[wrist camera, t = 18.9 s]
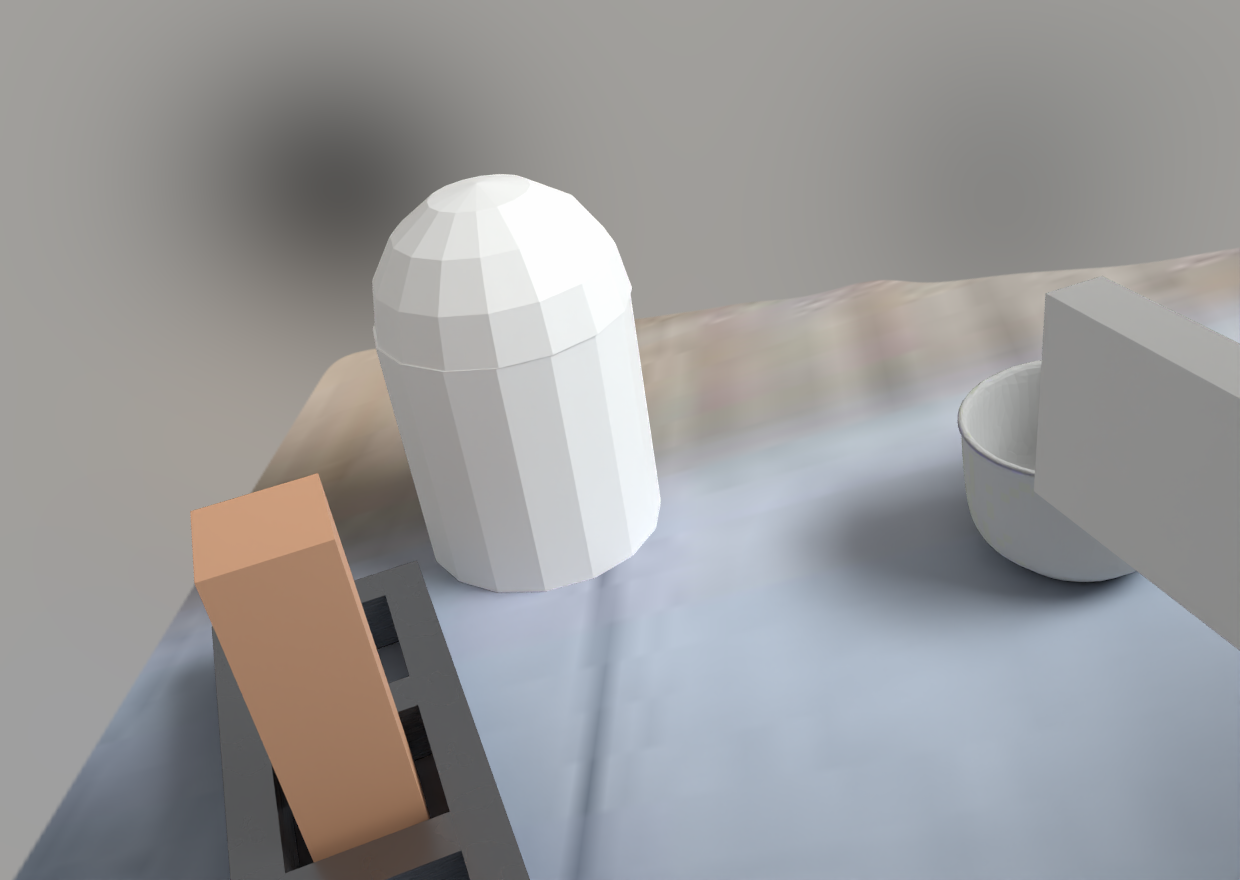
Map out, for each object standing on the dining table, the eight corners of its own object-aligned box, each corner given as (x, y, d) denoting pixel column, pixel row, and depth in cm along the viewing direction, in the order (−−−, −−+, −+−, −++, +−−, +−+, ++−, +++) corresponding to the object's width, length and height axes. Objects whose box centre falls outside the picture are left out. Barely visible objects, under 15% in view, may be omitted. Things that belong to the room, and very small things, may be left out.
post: (418, 774, 50) (317, 473, 42) (440, 853, 46) (334, 539, 38) (314, 812, 49) (190, 511, 41) (328, 896, 45) (194, 583, 37)
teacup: (1173, 636, 51) (1195, 489, 47) (930, 585, 56) (931, 449, 52) (1206, 468, 61) (1227, 335, 57) (998, 438, 66) (1003, 313, 62)
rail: (430, 605, 60) (416, 560, 59) (595, 1078, 38) (581, 1026, 36) (230, 671, 58) (211, 626, 56) (281, 1217, 35) (251, 1168, 34)
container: (603, 430, 73) (549, 120, 62) (706, 532, 62) (662, 179, 52) (402, 504, 69) (309, 186, 58) (476, 627, 58) (377, 265, 48)
